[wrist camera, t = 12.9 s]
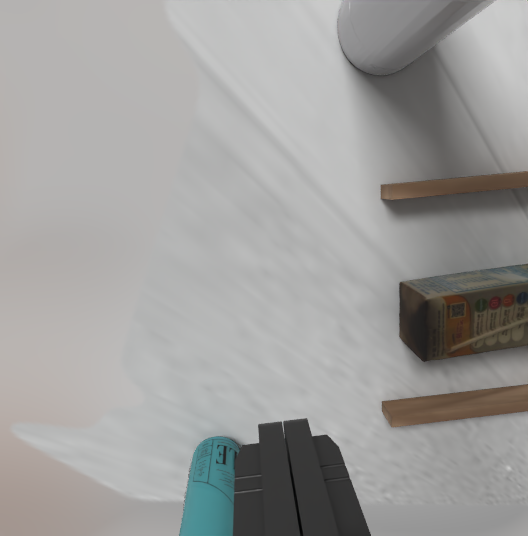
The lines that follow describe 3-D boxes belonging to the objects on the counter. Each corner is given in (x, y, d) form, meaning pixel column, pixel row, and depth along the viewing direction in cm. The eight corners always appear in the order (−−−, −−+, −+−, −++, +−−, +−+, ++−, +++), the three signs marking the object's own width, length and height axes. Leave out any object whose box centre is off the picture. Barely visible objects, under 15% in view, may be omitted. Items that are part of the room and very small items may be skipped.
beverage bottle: (189, 463, 44) (146, 680, 25) (199, 421, 43) (163, 615, 23) (237, 471, 45) (232, 687, 26) (249, 430, 44) (253, 625, 24)
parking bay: (380, 184, 37) (394, 184, 34) (576, 166, 38) (608, 164, 35) (382, 411, 44) (393, 429, 41) (547, 391, 45) (571, 408, 42)
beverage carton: (544, 319, 43) (597, 342, 36) (396, 340, 42) (423, 368, 36) (549, 258, 41) (606, 271, 34) (393, 280, 40) (422, 297, 34)
